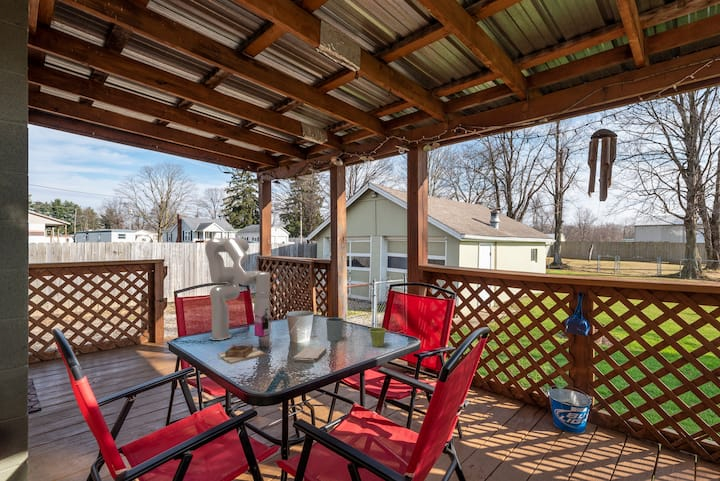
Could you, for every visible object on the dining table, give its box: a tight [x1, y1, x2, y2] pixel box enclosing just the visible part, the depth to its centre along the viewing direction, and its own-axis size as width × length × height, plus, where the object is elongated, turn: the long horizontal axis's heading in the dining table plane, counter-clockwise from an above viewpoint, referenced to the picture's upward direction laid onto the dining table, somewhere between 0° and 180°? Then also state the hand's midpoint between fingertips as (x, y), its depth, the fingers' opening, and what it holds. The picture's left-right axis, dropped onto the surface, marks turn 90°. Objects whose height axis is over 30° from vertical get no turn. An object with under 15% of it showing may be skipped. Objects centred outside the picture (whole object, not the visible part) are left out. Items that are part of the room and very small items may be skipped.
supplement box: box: [254, 314, 270, 338], centre depth 184 cm, size 6×6×12 cm
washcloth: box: [292, 347, 327, 364], centre depth 168 cm, size 12×18×3 cm, turn 169°
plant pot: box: [368, 327, 387, 348], centre depth 186 cm, size 9×9×9 cm
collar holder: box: [216, 344, 266, 365], centre depth 171 cm, size 16×18×4 cm
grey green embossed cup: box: [326, 316, 345, 343], centre depth 199 cm, size 10×10×12 cm
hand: (261, 327), depth 184 cm, fingers closed on supplement box, 6 cm apart
